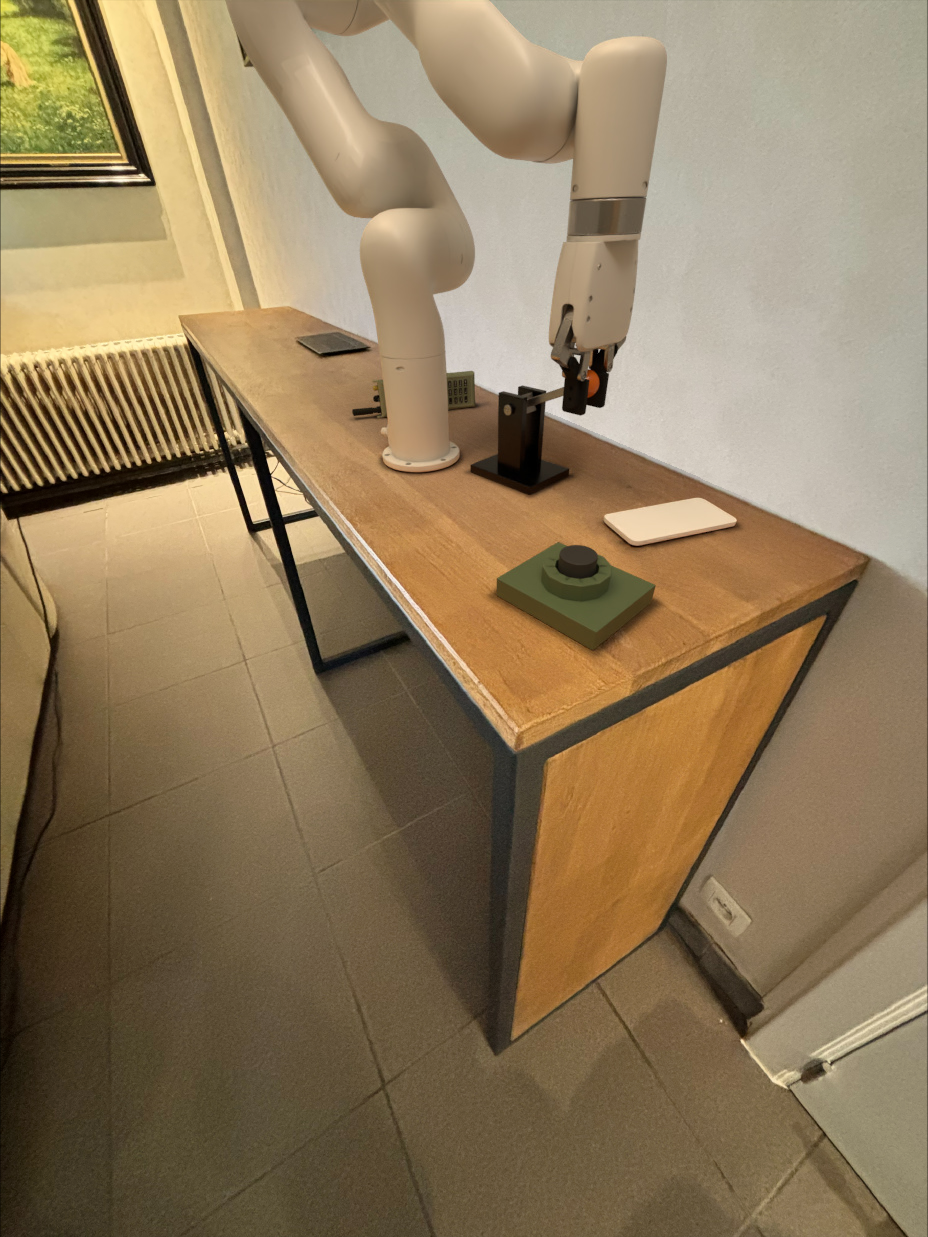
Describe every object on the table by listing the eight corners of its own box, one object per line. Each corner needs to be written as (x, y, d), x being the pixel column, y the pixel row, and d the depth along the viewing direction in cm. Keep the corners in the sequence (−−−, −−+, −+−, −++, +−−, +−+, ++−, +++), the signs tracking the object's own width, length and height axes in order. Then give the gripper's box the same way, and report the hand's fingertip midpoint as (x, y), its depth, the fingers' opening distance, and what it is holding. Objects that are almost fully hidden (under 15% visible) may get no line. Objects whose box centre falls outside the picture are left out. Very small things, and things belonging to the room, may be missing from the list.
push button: (550, 569, 49) (551, 554, 47) (572, 555, 50) (574, 540, 49) (580, 584, 46) (583, 569, 45) (602, 569, 48) (605, 554, 47)
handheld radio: (476, 407, 102) (354, 421, 97) (471, 404, 105) (352, 417, 100) (475, 372, 98) (348, 384, 93) (470, 369, 101) (346, 381, 96)
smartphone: (740, 521, 61) (634, 542, 57) (738, 526, 61) (633, 548, 58) (700, 496, 66) (601, 514, 63) (698, 501, 67) (600, 520, 63)
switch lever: (607, 391, 61) (601, 363, 60) (591, 396, 59) (586, 368, 58) (525, 416, 72) (519, 393, 71) (510, 421, 70) (504, 398, 69)
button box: (496, 595, 52) (496, 562, 49) (556, 558, 57) (559, 527, 54) (592, 650, 45) (599, 616, 42) (651, 602, 50) (660, 569, 47)
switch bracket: (569, 476, 74) (578, 392, 67) (529, 495, 70) (534, 407, 62) (509, 455, 81) (512, 377, 74) (470, 472, 77) (468, 390, 69)
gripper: (618, 221, 57) (596, 390, 69) (524, 226, 49) (517, 418, 60) (678, 219, 53) (644, 400, 65) (587, 225, 45) (566, 432, 56)
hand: (583, 407), depth 62 cm, fingers closed on switch lever, 3 cm apart
